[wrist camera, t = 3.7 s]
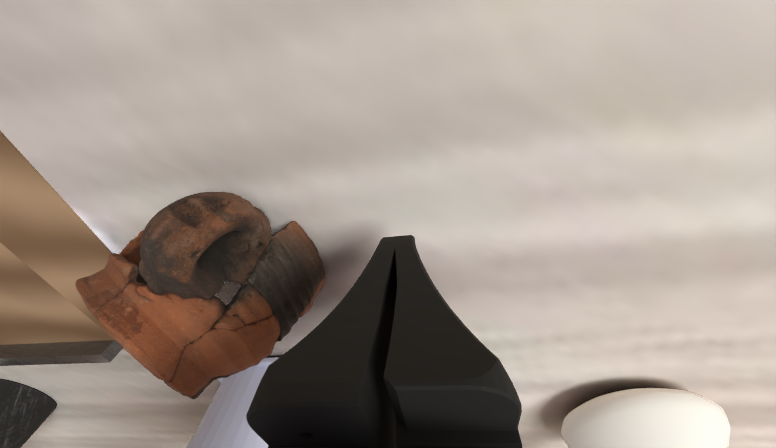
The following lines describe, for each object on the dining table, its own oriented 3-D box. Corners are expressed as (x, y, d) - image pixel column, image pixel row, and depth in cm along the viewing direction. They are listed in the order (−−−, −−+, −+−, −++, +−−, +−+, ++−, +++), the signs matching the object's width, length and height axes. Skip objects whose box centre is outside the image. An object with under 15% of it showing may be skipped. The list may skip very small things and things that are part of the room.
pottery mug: (328, 313, 20) (222, 428, 15) (238, 236, 22) (117, 315, 17) (358, 203, 11) (121, 393, 6) (202, 89, 13) (-82, 159, 8)
